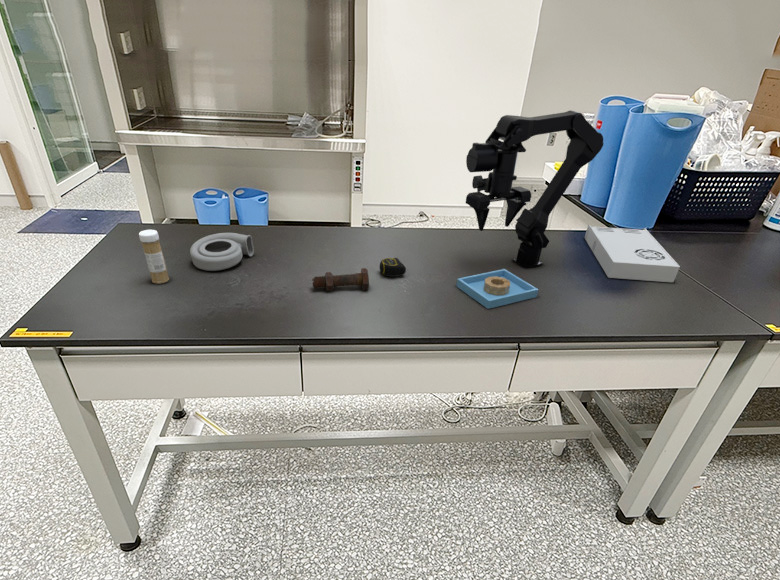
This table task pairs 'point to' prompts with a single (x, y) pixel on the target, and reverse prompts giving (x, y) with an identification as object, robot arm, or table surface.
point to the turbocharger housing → (221, 251)
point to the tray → (516, 293)
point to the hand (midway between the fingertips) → (493, 228)
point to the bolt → (342, 280)
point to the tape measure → (392, 267)
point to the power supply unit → (631, 254)
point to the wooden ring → (496, 285)
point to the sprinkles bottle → (154, 256)
